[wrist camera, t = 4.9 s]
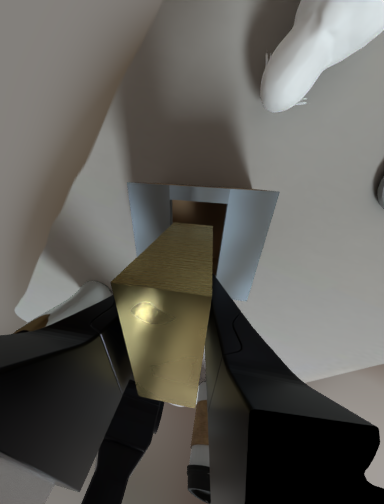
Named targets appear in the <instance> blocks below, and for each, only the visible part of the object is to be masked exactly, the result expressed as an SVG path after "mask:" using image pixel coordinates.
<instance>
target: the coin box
mask: <svg viewBox="0 0 384 504" xmlns="http://www.w3.org/2000/svg"><path fill="white" fill-rule="evenodd" d="M127 186H128V193H129V201H130V208H131V216H132V223H133V231H134V238H135V246H136V253H137V257H138V256H139V255H140V254H141V253H142V252H143V251H144V250H145V249H146V248H147V247H148V246H149V245H151V244H152V243H153V242H154V241H155V240H156V239H157V238H158V237H159V236H160V235H161V234H162V233H163V232H164V231H165V230H166V229H167V228H169V227H170V226H171V225H172V224H173V223H174V222H176V223H187V224H198V225H209V226H213V256H212V274H214V275H215V276H216V278H217V279H218V280H219V282H220V283H221V285H222V286H223V287H224V289H225V290H226V291H227V293H228V294H229V296H230V297H231V298H232V299H234V300H241V301H247V299H248V295H249V292H250V289H251V285H252V282H253V279H254V275H255V272H256V269H257V265H258V262H259V259H260V256H261V252H262V249H263V246H264V242H265V239H266V236H267V232H268V229H269V226H270V222H271V219H272V216H273V212H274V209H275V206H276V202H277V199H278V196H279V192H276V191H267V190H257V189H244V188H227V187H211V186H194V185H178V184H161V183H127Z"/></svg>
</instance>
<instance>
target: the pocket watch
mask: <svg viewBox="0 0 384 504" xmlns="http://www.w3.org/2000/svg"><path fill="white" fill-rule="evenodd" d="M378 201H379V204H380V205H381V206H382V207H383V208H384V176H383V178H382V180H381V182H380V185H379V188H378Z"/></svg>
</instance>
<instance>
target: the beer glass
mask: <svg viewBox="0 0 384 504" xmlns="http://www.w3.org/2000/svg"><path fill="white" fill-rule="evenodd" d="M111 295H112V293H111V291H110V290H109V288H108V287H106V286H105V285H104V284H102V283H100V282H97V281H87V282H86V283H84V284H83V285H82V286H81V287H80V288H79V290H78V291H77V292H76V293H75V294H74V295H72V296H71V297H70V298H69V299H67V300H66V301H64V302H62V303H61V304H59V305H57V306H56V307H54V308H52V309H50V310H49V311H47V312H45V313H43V314H42V315H40V316H38V317H36V318H35V319H33V320H32V321H30V322H28V323H27V324H25V325H24V326H22V327H21V328H19V329H18V330H16V331H15V332H14V333H13V334H19V333H25V332H30V331H34V330H38V329H41V328H44V327H46V326H49V325H51V324H53V323H55V322H57V321H60V320H62V319H64V318H66V317H68V316H70V315H73V314H75V313H77V312H79V311H81V310H83V309H86V308H88V307H90V306H92V305H94V304H96V303H98V302H100V301H102V300H104V299H106V298H108V297H109V296H111Z"/></svg>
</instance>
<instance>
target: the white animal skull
mask: <svg viewBox="0 0 384 504" xmlns="http://www.w3.org/2000/svg"><path fill="white" fill-rule="evenodd" d="M383 30H384V0H301V1H300V4H299V6H298V9H297V12H296V15H295V22H294V26H293V28H292V29H291V31H290V32H289V33H288V34H287V35H286V36H285V38H284V39H283V40H282V41H281V42H280V44H279V45H278V46H277V48H276V49H275V51H274V52H273V54H272V55H271V53H270V59H269V61H268V53H267V55H266V68H265V70H264V73H263V76H262V80H261V87H260V98H261V101H262V104H263V106H264V108H265V109H266V110H268V111H271V112H273V113H276V112H282V111H285V110H287V109H289V108H291V107H292V106H294V105H302V104H307V103H305V102H299V101H300V100H303V99H307V98H303V97H304V96H305V95H306V94H307V92H308V91H309V90H310V88H311V87H312V86H313V84H314V83H315V81H316V80H317V78H318V77H319V75H320V74H321V72H322V71H324V70H325V69H327V68H329V67H331V66H333V65H334V64H336V63H338V62H340V61H342V60H344V59H345V58H347V57H348V56H350V55H351V54H353V53H355V52H356V51H358V50H360V49H361V48H363V47H364V46H365V45H366V44H368V43H369V42H370V41H371V40H373V39H374V38H375V37H376V36H378V35H379V34H380V33H381V32H382V31H383ZM267 52H268V51H267ZM302 98H303V99H302Z"/></svg>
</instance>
